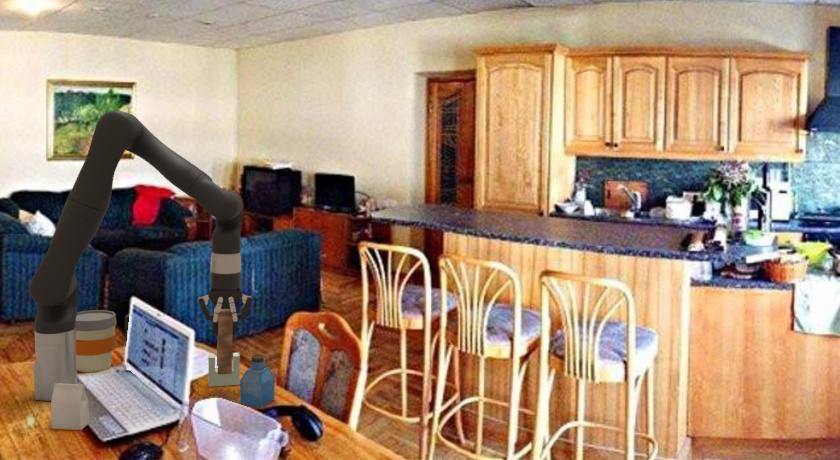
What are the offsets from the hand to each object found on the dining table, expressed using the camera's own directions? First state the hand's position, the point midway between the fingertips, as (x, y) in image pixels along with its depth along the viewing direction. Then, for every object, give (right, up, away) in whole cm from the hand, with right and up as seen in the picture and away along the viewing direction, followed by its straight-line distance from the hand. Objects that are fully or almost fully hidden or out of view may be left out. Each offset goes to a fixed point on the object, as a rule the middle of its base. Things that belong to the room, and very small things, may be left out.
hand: (224, 334), depth 186 cm
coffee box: (-28, -13, +19) cm, 36 cm away
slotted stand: (-3, -15, +10) cm, 18 cm away
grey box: (-30, -18, -20) cm, 41 cm away
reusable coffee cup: (-43, -12, +19) cm, 48 cm away
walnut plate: (-1, -9, +1) cm, 9 cm away
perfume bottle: (+9, -17, -1) cm, 19 cm away
